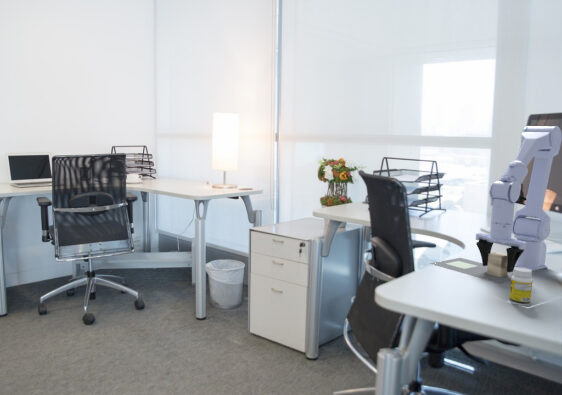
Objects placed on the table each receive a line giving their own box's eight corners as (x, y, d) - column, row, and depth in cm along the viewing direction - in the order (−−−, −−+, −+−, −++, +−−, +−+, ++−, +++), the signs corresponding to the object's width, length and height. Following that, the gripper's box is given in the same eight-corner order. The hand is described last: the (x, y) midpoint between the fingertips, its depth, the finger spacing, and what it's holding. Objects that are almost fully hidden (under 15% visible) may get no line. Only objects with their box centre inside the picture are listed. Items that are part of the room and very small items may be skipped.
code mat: (460, 258, 163) (460, 257, 163) (531, 276, 143) (531, 275, 143) (429, 264, 154) (429, 263, 154) (500, 284, 134) (500, 283, 134)
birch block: (494, 271, 146) (496, 252, 146) (507, 275, 143) (509, 255, 142) (486, 273, 144) (488, 253, 143) (499, 276, 141) (501, 256, 140)
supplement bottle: (512, 298, 123) (515, 265, 122) (532, 302, 120) (536, 269, 119) (506, 302, 119) (509, 269, 118) (527, 307, 116) (531, 273, 115)
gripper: (471, 219, 145) (467, 264, 147) (518, 228, 134) (513, 276, 135) (485, 218, 149) (481, 261, 151) (532, 226, 138) (527, 273, 139)
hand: (497, 268), depth 143 cm, fingers open, 7 cm apart
